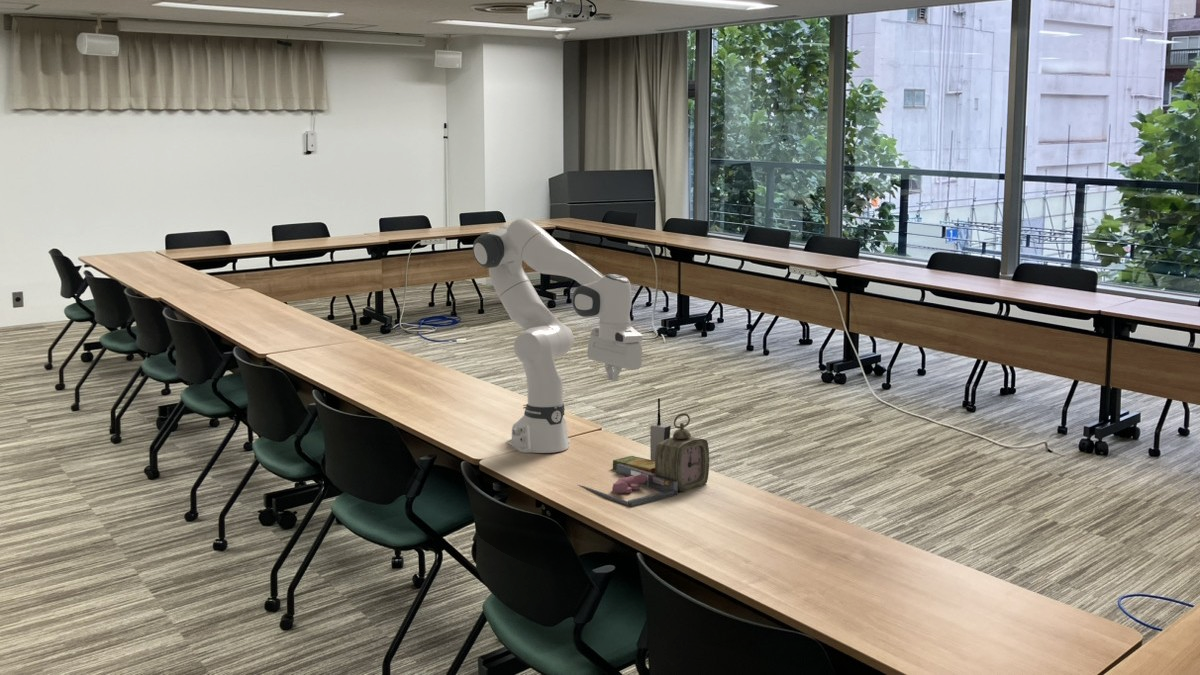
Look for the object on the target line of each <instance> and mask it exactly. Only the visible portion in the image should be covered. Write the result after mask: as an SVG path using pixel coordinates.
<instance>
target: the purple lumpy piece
mask: <svg viewBox="0 0 1200 675" xmlns="http://www.w3.org/2000/svg"><path fill="white" fill-rule="evenodd" d="M646 480H647V476H646V475H645V474H639V475H636V476H630V477H621V478H620V477H619V479H618V480H616V482H613V483H612V487H611V489H612V490H611V492H612V493H613V494H616V495H617V494H618V495H619V494H631V493H632V492H633V491H632V490H636V491H637V490H639V489H640V485H643V484H642V483H644V482H645V481H646Z"/></svg>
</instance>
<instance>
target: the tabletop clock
mask: <svg viewBox="0 0 1200 675" xmlns="http://www.w3.org/2000/svg"><path fill="white" fill-rule="evenodd" d="M684 416H685V417H687V420H688V421H687V422H686V424H684V423H683V422H681V423H680V424H679V426H678V425H677V424H676V422H677V420H678V418H680V417H684ZM690 421H691V417H690V415H689V414H687V413H686V412H685V413H684V412H683V413H680V414H678V415H676V416H675V418H674V420H673V426H674V427H675V429H676V430H675V431H674V432H673V435H672V437H670V438H669V439H666V440H664V441H662V442H660V443H658V444H657V446H656V452H655V474H657V475H660V476H663V477H666V478H670V479H673V480H676V481H678V492H681V493H685V492H687V491H691V490H693V489H696V488H700V487H702V486H705V485H706V484H707V482H708V479H709V472H710V450H709V443H708V440H707V439H704V438H700V437H698V438H697V437H693V436H692V434H691V432H690V431H689V430H687V429H686V427H687V426H689V424H690Z"/></svg>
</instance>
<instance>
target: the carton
mask: <svg viewBox="0 0 1200 675" xmlns="http://www.w3.org/2000/svg"><path fill="white" fill-rule="evenodd" d="M620 463H621V464H624V465H628V466H631V467H634V468H637V469H640V470H644V471H647V472H650V473H653V474H655V461H653V460H651V459H648V458H644V457H638V456H635V455H628V456H625V457H620V458H616V459H613V460H612V469H613V470H615V471H617V464H620Z"/></svg>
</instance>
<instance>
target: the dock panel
mask: <svg viewBox="0 0 1200 675" xmlns="http://www.w3.org/2000/svg"><path fill="white" fill-rule="evenodd" d="M616 474H619V475H620V476H623V477H624V478H626V477H630V476H636V475H639V474H645V475H646V476H647V480H646V481H645V482H644V483H642V484H641V485H644V486H646V487H647V488H650V489H653V490H654V491H657V493H653V494H650V495H645V496H641V497H638V498H637V497H636V498H632V499H629V500H624V499H622V498H619V497H616V496H613V495H611V494H607V493H604V492H601V491H599V490H596V489H593V488H590V487H588V486H584V485H582V487H581V488H583V487H584V489H585V488H586V489H585V490H587V489H588V490H587V491H589V490H590V491H589V492H591V491H592V492H591V493H594V494H596V495H598V496H600V497H602V498H605V499H608V500H609V501H613V502H615V503H618V504H621V505H624V506H627V507H630V508H632V507H636V506H639V505H644V504H647V503H651V502H656V501H659V500H660V501H661V500H664V499H667V498H671V497H675V496H678V492H679V491H678V481H676V480H673V479H670V478H666V477H663V476H660V475H657V474H653V473H650V472H647V471H644V470H640V469H637V468H634V467H631V466H628V465H624V464H621V463H620V464H617V470H616Z"/></svg>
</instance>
